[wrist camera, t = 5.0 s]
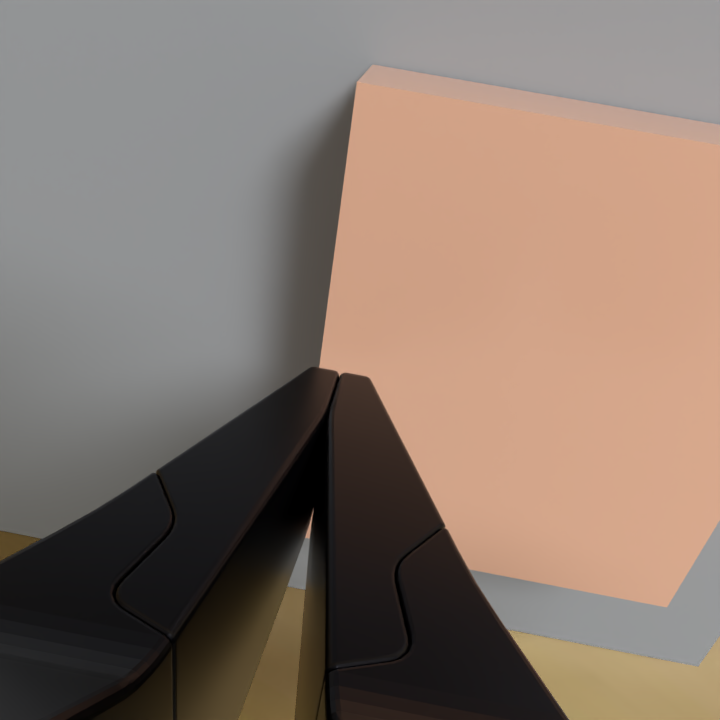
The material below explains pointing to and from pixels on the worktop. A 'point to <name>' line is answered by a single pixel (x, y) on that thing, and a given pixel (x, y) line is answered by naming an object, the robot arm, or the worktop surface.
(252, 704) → the worktop surface
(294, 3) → the mat
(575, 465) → the tile
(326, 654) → the robot arm
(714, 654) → the worktop surface
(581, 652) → the worktop surface
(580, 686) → the worktop surface
